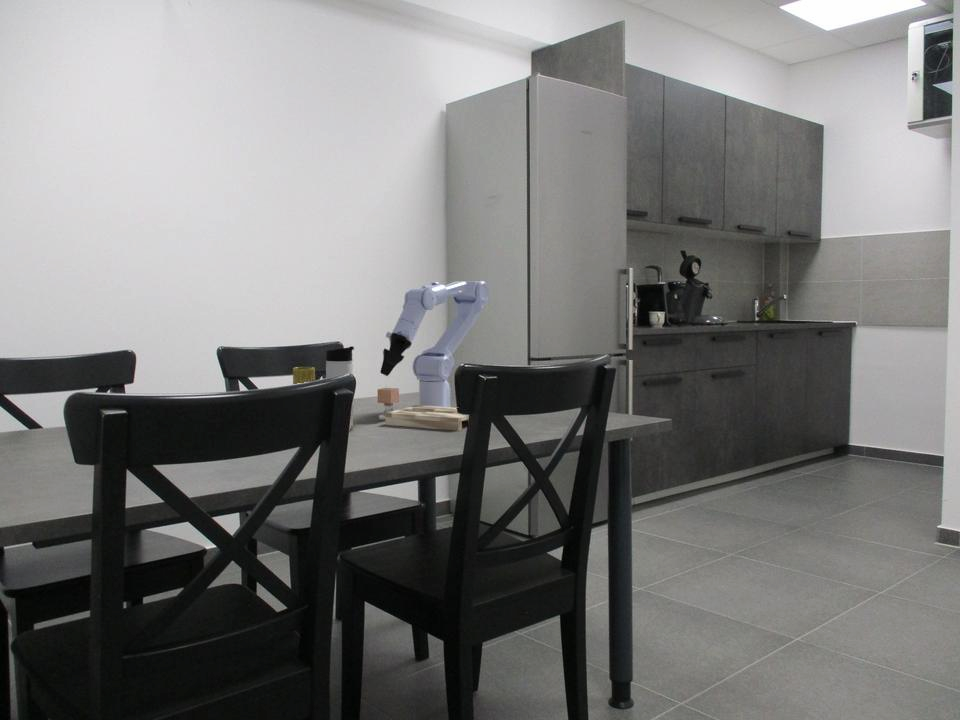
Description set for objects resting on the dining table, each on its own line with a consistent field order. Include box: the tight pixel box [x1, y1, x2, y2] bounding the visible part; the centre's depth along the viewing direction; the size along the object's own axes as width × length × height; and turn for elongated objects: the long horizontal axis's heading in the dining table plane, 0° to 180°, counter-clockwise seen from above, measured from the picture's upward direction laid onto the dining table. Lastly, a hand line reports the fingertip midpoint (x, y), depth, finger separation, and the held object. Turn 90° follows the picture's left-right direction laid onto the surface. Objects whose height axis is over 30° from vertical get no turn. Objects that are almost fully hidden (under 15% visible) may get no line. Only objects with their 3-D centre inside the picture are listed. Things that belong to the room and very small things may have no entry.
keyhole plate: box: [385, 404, 469, 432], centre depth 203 cm, size 16×20×3 cm
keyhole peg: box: [377, 387, 400, 422], centre depth 208 cm, size 5×5×8 cm
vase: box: [292, 366, 316, 385], centre depth 198 cm, size 6×6×14 cm
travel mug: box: [325, 346, 355, 431], centre depth 191 cm, size 6×7×20 cm
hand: (387, 368), depth 205 cm, fingers open, 7 cm apart
